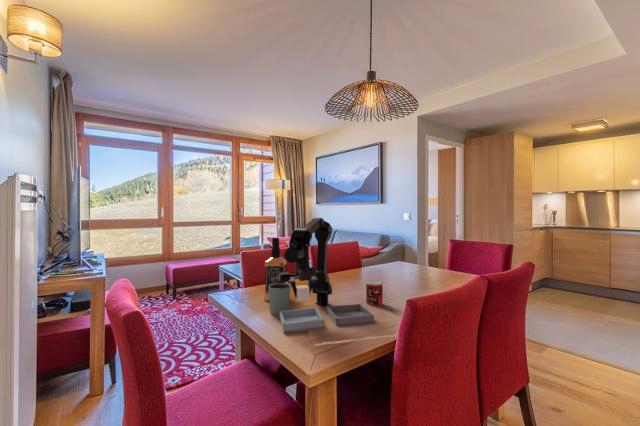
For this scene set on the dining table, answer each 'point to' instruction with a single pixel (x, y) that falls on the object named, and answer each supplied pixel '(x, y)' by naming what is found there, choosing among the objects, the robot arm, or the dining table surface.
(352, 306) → the bin
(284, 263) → the whiskey bottle
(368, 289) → the canned food
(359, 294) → the dining table surface
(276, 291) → the grey cylinder
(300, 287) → the smooth beige block
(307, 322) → the bin
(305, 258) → the robot arm
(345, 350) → the dining table surface
